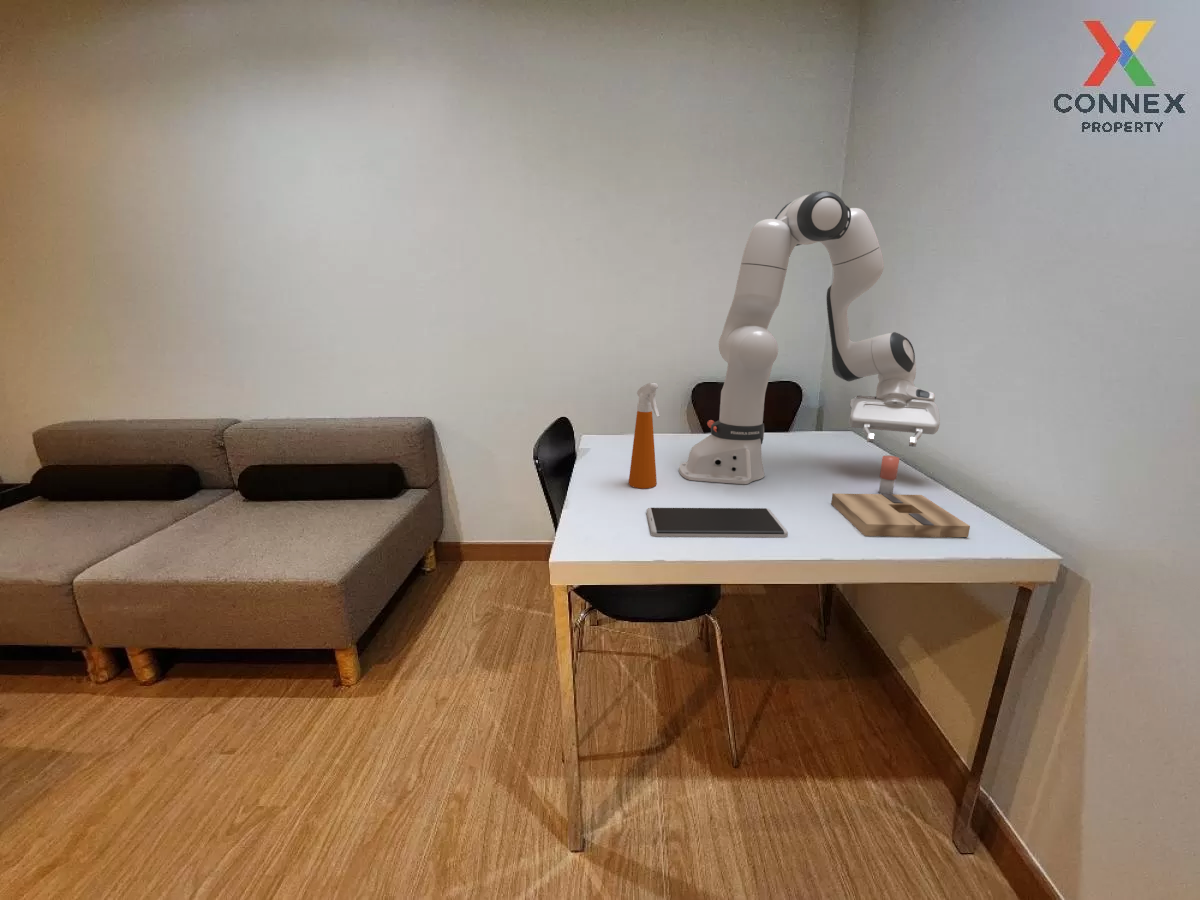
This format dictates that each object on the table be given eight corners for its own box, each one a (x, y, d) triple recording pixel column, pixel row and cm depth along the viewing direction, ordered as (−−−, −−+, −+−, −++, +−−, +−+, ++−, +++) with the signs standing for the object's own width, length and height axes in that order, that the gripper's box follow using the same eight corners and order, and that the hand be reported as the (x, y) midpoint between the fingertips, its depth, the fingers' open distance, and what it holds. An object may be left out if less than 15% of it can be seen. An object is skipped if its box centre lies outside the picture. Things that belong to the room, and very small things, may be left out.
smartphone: (788, 540, 109) (789, 532, 108) (651, 539, 109) (651, 531, 108) (768, 514, 121) (769, 507, 121) (646, 514, 121) (646, 506, 121)
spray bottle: (642, 495, 132) (645, 385, 125) (624, 481, 141) (625, 379, 134) (668, 491, 134) (673, 383, 127) (648, 478, 144) (652, 377, 137)
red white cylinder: (881, 495, 132) (886, 459, 130) (874, 490, 136) (879, 455, 133) (896, 495, 132) (902, 459, 130) (889, 490, 136) (895, 455, 133)
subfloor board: (864, 536, 109) (866, 523, 109) (831, 503, 127) (832, 492, 126) (967, 537, 109) (970, 525, 108) (919, 505, 126) (921, 494, 125)
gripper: (851, 388, 145) (846, 432, 139) (942, 393, 137) (940, 440, 131) (850, 402, 150) (844, 445, 144) (937, 408, 142) (935, 454, 136)
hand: (891, 443), depth 137 cm, fingers open, 8 cm apart
